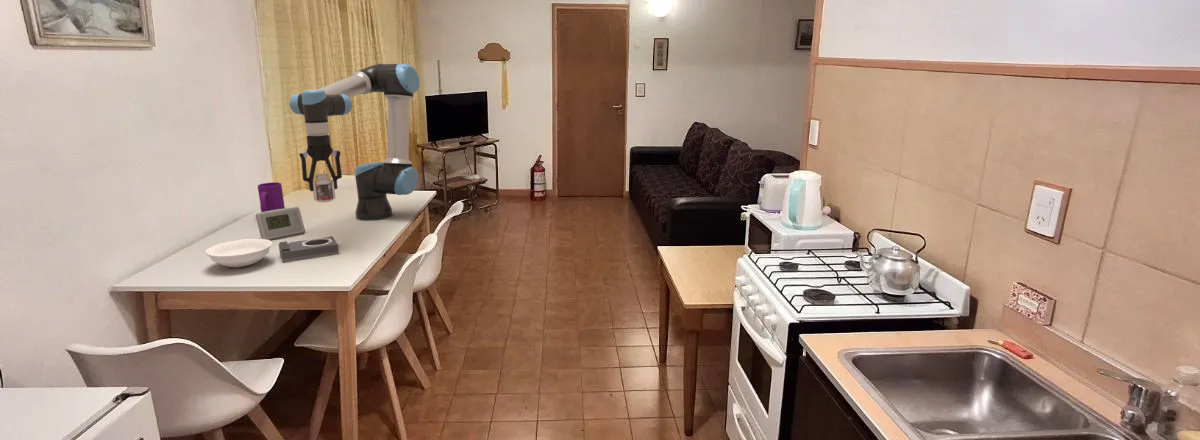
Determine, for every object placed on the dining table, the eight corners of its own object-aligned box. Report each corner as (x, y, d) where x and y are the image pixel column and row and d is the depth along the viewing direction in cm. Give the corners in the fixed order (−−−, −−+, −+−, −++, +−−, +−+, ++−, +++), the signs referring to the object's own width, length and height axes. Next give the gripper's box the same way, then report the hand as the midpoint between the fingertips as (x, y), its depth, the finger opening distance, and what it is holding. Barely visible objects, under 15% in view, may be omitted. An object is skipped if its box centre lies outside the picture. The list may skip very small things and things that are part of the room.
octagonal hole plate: (333, 245, 236) (332, 234, 235) (338, 253, 226) (337, 242, 225) (279, 253, 227) (278, 241, 226) (282, 262, 217) (281, 250, 216)
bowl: (204, 278, 203) (200, 259, 201) (212, 260, 220) (209, 242, 219) (273, 269, 210) (270, 251, 209) (276, 252, 228) (273, 235, 226)
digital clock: (260, 242, 241) (256, 215, 238) (258, 237, 248) (254, 210, 245) (306, 235, 249) (303, 209, 246) (303, 230, 256) (299, 204, 254)
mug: (289, 215, 281) (284, 181, 277) (276, 224, 266) (271, 189, 262) (267, 216, 279) (262, 182, 276) (253, 225, 265) (247, 190, 261)
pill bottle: (314, 202, 228) (311, 175, 225) (320, 199, 233) (317, 173, 231) (329, 202, 228) (326, 175, 226) (335, 199, 233) (332, 173, 231)
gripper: (343, 132, 232) (349, 194, 238) (288, 135, 223) (295, 199, 229) (347, 134, 226) (353, 198, 232) (290, 136, 217) (297, 203, 223)
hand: (324, 198), depth 230 cm, fingers closed on pill bottle, 5 cm apart
